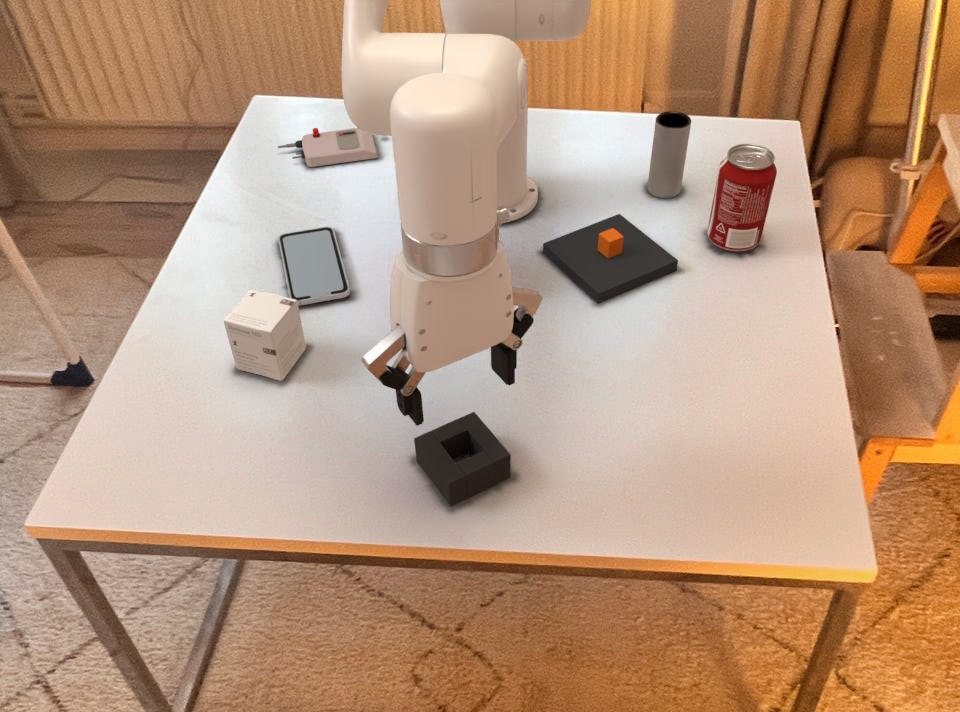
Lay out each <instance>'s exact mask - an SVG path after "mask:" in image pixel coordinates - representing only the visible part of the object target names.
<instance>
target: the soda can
mask: <svg viewBox="0 0 960 712" xmlns="http://www.w3.org/2000/svg"><path fill="white" fill-rule="evenodd" d="M775 159H776V157H775V154H774V152H773V151H772V150H771V149H769V148H767V147H766V146H763V145H761V144H756V143H740V144H736V145H733V146H732V147H730V148H729V149H728V151H727V154H726V157H724V158H723V159H722V161H721V162H720V163H719V167H718V173H717V176H716V177H717V178H716V183H715V187H714V192H713V193H714V194H713V199H712V203H711V208H710V209H711V210H710V215H709V220H708V225H707V230H706V236H707V238H708V240H709V241H710V242H711V244H712V245H714V246H716V247H717V248H720V249H722V250H725V251H729V252H745V251H749V250H753V249H754V248H756V247H757V246H758V245H760V243H761V239H762V236H763V232H764V228H765V224H766V219H767V217H768V212H769V208H770V203H771V199H772V195H773V190H774V187H775V183H776V179H777V174H778V173H777V172H778V170H777V167H776V164H775Z"/></svg>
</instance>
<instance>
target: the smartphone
mask: <svg viewBox="0 0 960 712" xmlns="http://www.w3.org/2000/svg"><path fill="white" fill-rule="evenodd" d="M277 241H278V246H279V250H280V255H281V260H282V266H283V270H284V276H285V278H284V279H285V284H286V287H287V292H288V296H289V297H288V298H291V299H296V300H297V302H298V306H304V305H311V304H316V303H322V302H326V301H332V300H339V299H344V298H347V297H348V296H350V294H351V288H350V283H349V281H348V275H347V272H346V269H345V265H344V262H343V258H342V255H341V251H340V247H339V244H338V240H337V236H336V233H335V230H334V228H333V227H331V226H323V227H316V228H315V227H314V228H310V229H303V230H297V231H291V232H284V233H282V234H280V235H279V236H278V238H277Z"/></svg>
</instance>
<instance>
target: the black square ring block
mask: <svg viewBox="0 0 960 712" xmlns="http://www.w3.org/2000/svg"><path fill="white" fill-rule="evenodd" d="M413 440H414V441H413V442H414V449H415V458H416V463H417V464H418V466H419V467H420V468H421V469H422V471H423V472H424V473H425V475H426V476H427V477H428V479H429V480H430V481H431V483H432V484H433V485H434V486H435V488H436V490H438V492H439V494H441V496H442V497H443V498H444V500H445V501H446V503H447V504H448V506H450V507H452V506H455V505H457V504H459V503H461V502H463V501H465V500H467V499H469V498H471V497H474V496H475V495H477V494H479V493H482V492H484V491H486V490H488V489H490V488H493V487H494V486H496V485H498V484H500V483H502V482H504V481H506V480H508V479H511V472H512V471H511V470H512V469H511V467H512V466H511V459H512V458H511V457H512V456H511V453H510V452H509V451H508V450H507V448H506V447H505V446H504V445H503V444H502V443H501V441H500V440H499V439H498V438H497V437H496V435H495V434H494V433H493V432H492V431H491V430H490V428H489V427H488V426H487V425H486V423H484V421H483V420H482V419H481V418H480V416H479V415H477V413H476V412H475V411H473V412H472V411H471V412H470V413H468V414H466V415H463V416H461V417H459V418H456V419H454V420H451V421H449V422H447V423H446V424H443V425H440V426H438V427H436V428H434V429H432V430H430V431H427V432H425V433H423V434H420V435H419V436H416V437H414V438H413ZM468 454H469V455H470V456H469V457H467V458H465V459H462V460H460V461H458V462H456V461H455V460H457V459H459V458H461V457H464V456H466V455H468Z"/></svg>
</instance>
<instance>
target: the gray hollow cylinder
mask: <svg viewBox="0 0 960 712" xmlns="http://www.w3.org/2000/svg"><path fill="white" fill-rule="evenodd" d="M691 126H692V119H691V117H690V116H689V114H686V113H684V112H682V111H676V110H669V111H668V110H667V111H664V112H661V113H659V114H658V115H657V116H656V117H655V123H654V130H653V139H652V146H651V153H650V163H649V171H648V178H647V179H648V180H647V191H648V192H649V194H650V195H652V196H654V197H655V198H660V199H661V198H662V199H670V198H674V197H676V196H678V195H679V194H680V193H681V189H682V185H683V178H684V172H685V165H686V159H687V154H688V153H687V152H688V146H689V140H690V133H691Z"/></svg>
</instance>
